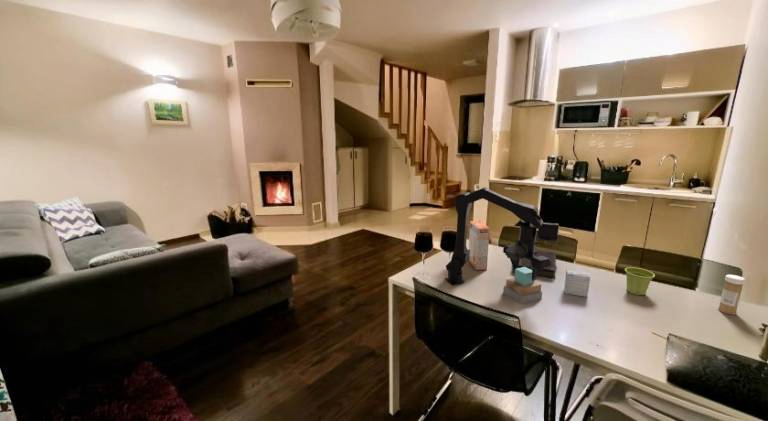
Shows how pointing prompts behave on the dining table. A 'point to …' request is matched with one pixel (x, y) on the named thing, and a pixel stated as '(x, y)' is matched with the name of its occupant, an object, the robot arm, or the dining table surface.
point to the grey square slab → (521, 298)
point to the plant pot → (638, 280)
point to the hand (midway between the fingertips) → (523, 276)
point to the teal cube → (523, 276)
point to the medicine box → (577, 283)
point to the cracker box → (478, 245)
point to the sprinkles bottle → (731, 294)
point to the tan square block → (523, 287)
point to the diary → (546, 272)
